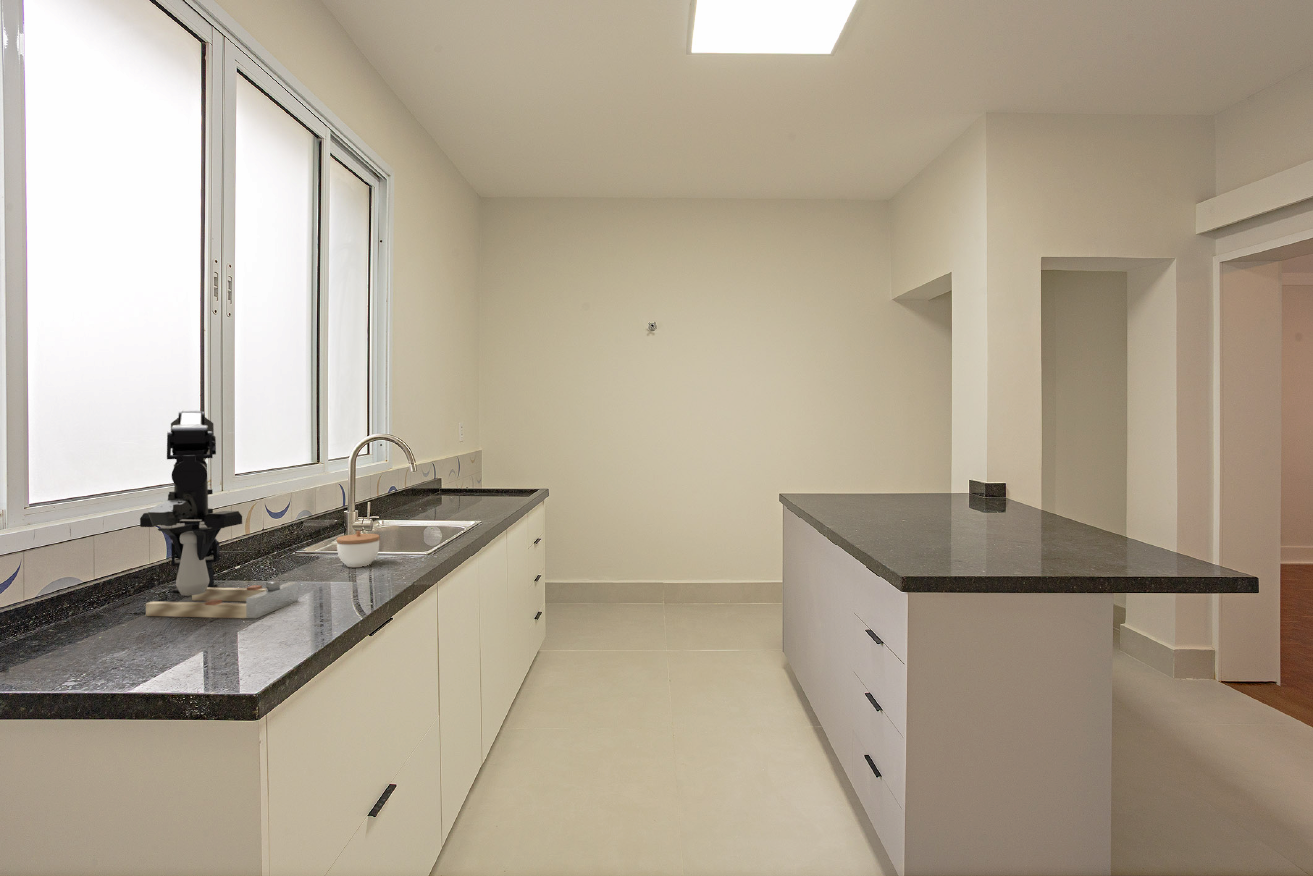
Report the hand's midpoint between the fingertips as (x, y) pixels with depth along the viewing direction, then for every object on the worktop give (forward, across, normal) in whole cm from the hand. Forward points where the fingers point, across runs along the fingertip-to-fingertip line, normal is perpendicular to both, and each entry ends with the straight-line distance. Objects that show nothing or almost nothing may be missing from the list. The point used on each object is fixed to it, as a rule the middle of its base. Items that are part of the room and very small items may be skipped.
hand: (192, 559), depth 135 cm
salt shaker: (+7, 0, 0) cm, 7 cm away
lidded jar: (+10, +12, +42) cm, 45 cm away
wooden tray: (+10, +6, 0) cm, 12 cm away
